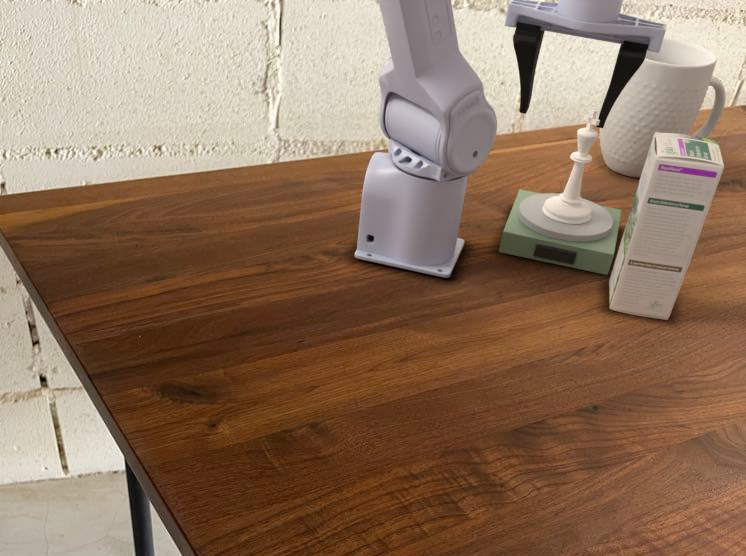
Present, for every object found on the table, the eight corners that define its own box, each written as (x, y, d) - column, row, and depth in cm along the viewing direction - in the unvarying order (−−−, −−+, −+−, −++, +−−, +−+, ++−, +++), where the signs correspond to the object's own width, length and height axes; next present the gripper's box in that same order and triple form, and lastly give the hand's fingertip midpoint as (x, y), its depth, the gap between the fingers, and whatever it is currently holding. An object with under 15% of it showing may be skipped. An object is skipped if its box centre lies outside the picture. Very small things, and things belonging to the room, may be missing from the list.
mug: (678, 148, 114) (717, 36, 104) (722, 185, 106) (768, 67, 97) (572, 149, 110) (602, 33, 101) (609, 187, 103) (645, 65, 94)
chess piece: (565, 228, 88) (594, 123, 81) (532, 207, 90) (556, 104, 83) (600, 218, 90) (631, 116, 83) (567, 199, 93) (593, 98, 86)
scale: (497, 253, 89) (503, 226, 87) (515, 208, 97) (521, 182, 95) (607, 277, 87) (616, 249, 85) (615, 229, 95) (623, 203, 93)
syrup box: (669, 322, 82) (730, 164, 72) (605, 310, 82) (657, 153, 72) (666, 292, 86) (723, 139, 76) (605, 281, 87) (653, 128, 76)
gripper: (684, -39, 80) (637, 117, 90) (527, -63, 83) (497, 91, 92) (682, -22, 75) (632, 141, 85) (515, -48, 78) (485, 113, 87)
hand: (561, 117), depth 88 cm, fingers open, 7 cm apart
